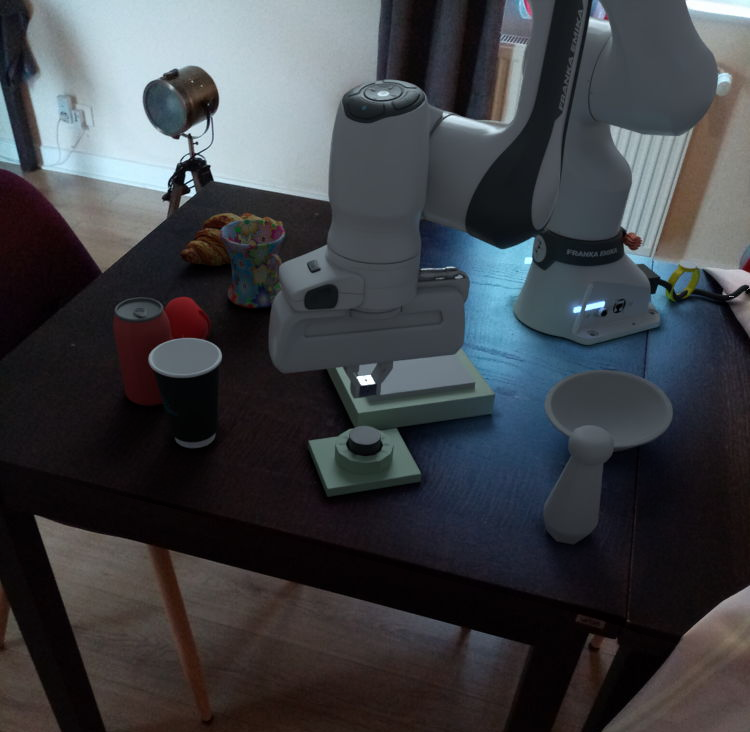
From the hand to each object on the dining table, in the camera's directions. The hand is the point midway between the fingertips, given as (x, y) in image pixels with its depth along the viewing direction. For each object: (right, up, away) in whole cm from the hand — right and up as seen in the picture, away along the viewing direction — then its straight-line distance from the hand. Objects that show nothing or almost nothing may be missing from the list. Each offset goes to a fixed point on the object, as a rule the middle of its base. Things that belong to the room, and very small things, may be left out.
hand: (365, 394), depth 84 cm
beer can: (-27, +2, +15) cm, 31 cm away
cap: (-25, +11, +25) cm, 37 cm away
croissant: (-22, +30, +47) cm, 60 cm away
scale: (+5, +3, +19) cm, 20 cm away
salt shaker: (+22, -15, 0) cm, 26 cm away
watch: (+50, +21, +43) cm, 69 cm away
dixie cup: (-20, -4, +9) cm, 23 cm away
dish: (+29, -4, +13) cm, 32 cm away
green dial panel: (0, -7, +7) cm, 10 cm away
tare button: (0, -5, +5) cm, 7 cm away
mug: (-16, +18, +35) cm, 43 cm away
